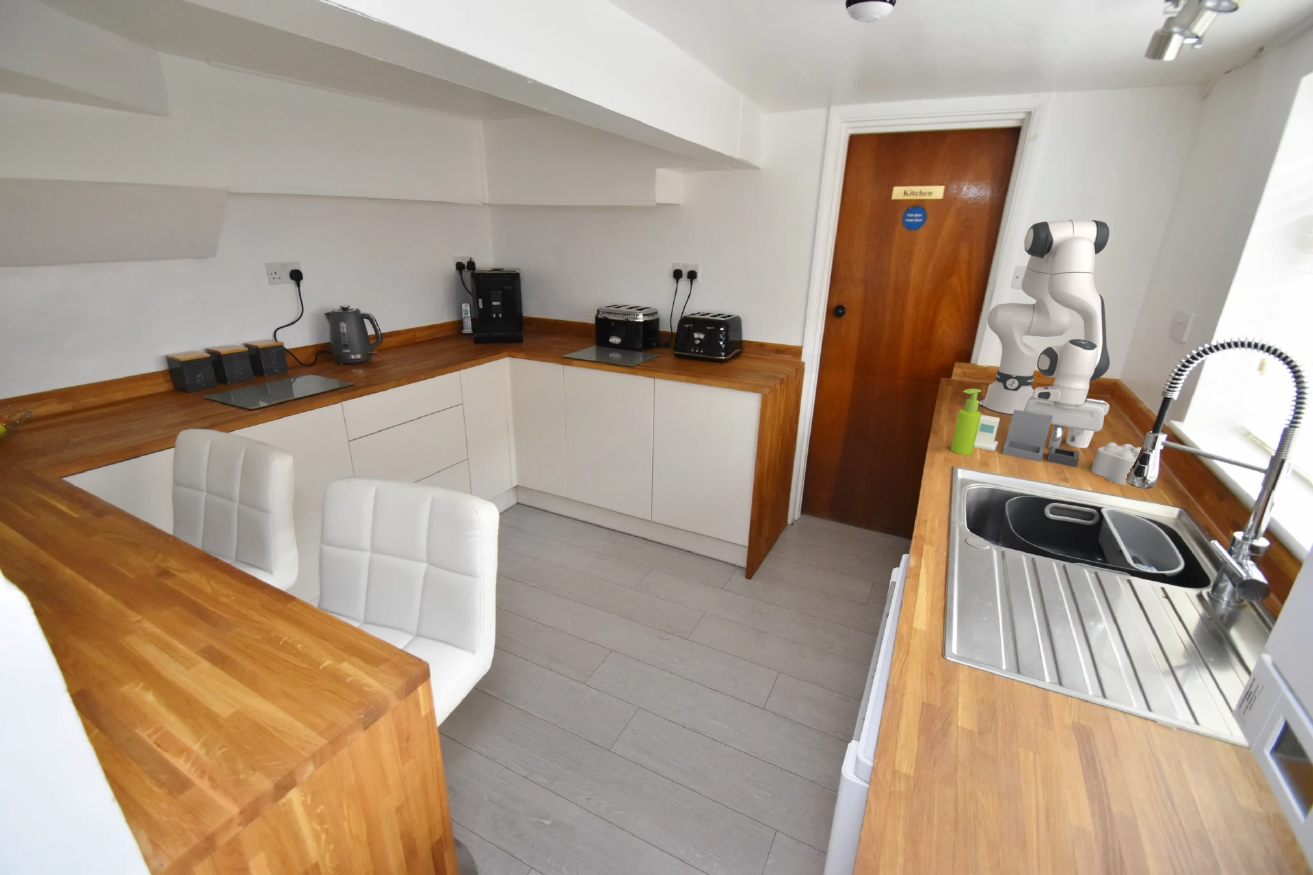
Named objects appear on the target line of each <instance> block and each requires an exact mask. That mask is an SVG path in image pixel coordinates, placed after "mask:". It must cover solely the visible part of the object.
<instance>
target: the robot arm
mask: <svg viewBox="0 0 1313 875" xmlns="http://www.w3.org/2000/svg"><path fill="white" fill-rule="evenodd" d="M1109 238H1110V227H1109V225H1108V224H1107V222H1104V221H1102V220H1096V219H1095V220H1094V219H1093V220H1085V219H1069V220H1054V221H1049V222H1048V221H1046V220H1045V221H1041V222H1040V221H1039V222H1036V223H1033V224H1032V225H1031V226H1030V227H1029V228H1028V230H1027V232H1026V234H1025V236H1024V240H1023V241H1024V242H1023V244H1024V251H1025V252H1026V253H1027V255H1029V259H1028V261H1027V265H1026V268H1025V271H1024V275H1023V278H1022V280H1021V281H1022V282H1021V284H1020V285H1021V290H1022V292H1023V293H1024V294H1025V295H1027V296H1028V297H1030V298H1032V299H1034V300H1035V303H1017V302H1007V303H1000V304H999V303H998V304H996V305H994V307H993V308H991V309H990V310H989V313H988V315H987V325H988V327H989V329H990V330H991V331H992V332H993V333H994V334H995V335H996V337H998V340H999V342H1000V345H1001V358H1000V364H999V367H998V370H997V371H996V373H995V377H994V380H995V381H993V382H992V383H990V384H989V385H988V388H987V392H986V396H985V398H984V399H982V400H979V404H980V405H979V406H981V405H983V406H982V407H985V408H987V409H988V410H992V411H993V412H996V413H997V412H998V413H1002V414H1007V415H1013V412H1014V409H1015V410H1021V411H1027V412H1033V413H1039V414H1045V415H1051V416H1053V417H1052V421H1051V425H1060V426H1065V428H1069V427H1072V428H1078V433H1077V434H1076V435H1072V436H1071V440H1070V442H1075V443H1076V441H1077V438H1078V437H1079V436H1081V435H1082V434H1083V433H1084V430H1089V431H1094V433H1095V432H1096V433H1098V432H1100V431H1102V429H1103V426H1104V420H1105V416H1106V415H1107V414H1108V413H1109V410H1110V407H1111V406H1110V404H1109V403H1108V402H1106V401H1105V400H1102V399H1095V398H1089V397H1087V396H1088V393H1089V390H1090V382H1094V381H1096V380H1099V379H1101V377H1102V376H1104V375H1105V374H1107V372H1108V370H1109V369H1110V366H1111V365H1110V364H1111V361H1110V355H1109V352H1108V351H1109V350H1108V346H1107V344H1108V342H1107V327H1106V326H1107V325H1106V324H1107V323H1106V308H1105V301H1104V298H1103V295H1101V294H1100V293H1099V292H1098V291H1097V288H1096V285H1095V280H1094V279H1095V271H1096V270H1095V269H1096V268H1095V267H1096V255H1098V254H1099V253H1100V252H1102V251H1103V250H1104V249H1105V248H1106V246H1107V244H1108V241H1109ZM1071 311H1073V312H1075V313H1076V314H1078V316H1080V317H1081V318H1082V321H1083V331H1084V332H1083V333H1084V334H1083V336H1084V339H1080V338H1075V339H1069V340H1067V341H1066V342H1065V343H1063V344H1060V345H1053V346H1048V347H1046V348H1044V349H1043V350H1042V351H1041V353H1039V356H1038V352H1037V351H1036V349H1035V348H1033V347H1032V346H1030V345H1028V344H1027V343H1025V342H1024V341H1023V337H1024V336H1030V337H1043V338H1049V337H1050V338H1051V337H1060V336H1061V337H1062V336H1063V335H1065V333H1067V332H1068V331H1069V330H1070V328H1071V327H1072V325H1073V324H1072V323H1073V315H1072V313H1071ZM1036 367H1037V370H1038V372H1039V373H1040V374H1041V375H1042V376H1045V377H1048V378H1055V379H1054V381H1053V383H1052V385H1049V386H1038V387H1035V388H1034V389H1033V387H1032V385H1033V383H1034V381H1035V380H1034V379H1035V374H1034V372H1035V370H1036Z"/></svg>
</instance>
